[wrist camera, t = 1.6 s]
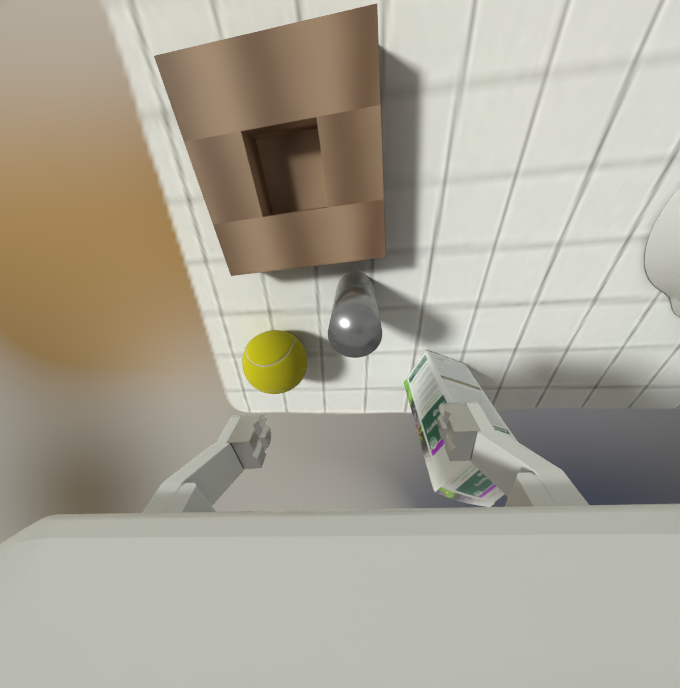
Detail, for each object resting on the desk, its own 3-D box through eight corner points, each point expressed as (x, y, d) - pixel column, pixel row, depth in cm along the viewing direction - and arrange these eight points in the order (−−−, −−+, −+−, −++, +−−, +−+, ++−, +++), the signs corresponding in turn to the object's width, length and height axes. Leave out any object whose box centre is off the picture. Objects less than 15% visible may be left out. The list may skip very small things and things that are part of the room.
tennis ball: (249, 321, 30) (222, 353, 24) (307, 319, 29) (294, 351, 23) (262, 368, 33) (242, 407, 27) (314, 367, 33) (305, 406, 27)
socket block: (373, 40, 18) (377, 3, 14) (381, 248, 25) (385, 257, 21) (190, 80, 19) (153, 55, 16) (247, 265, 26) (231, 275, 23)
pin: (372, 270, 26) (381, 307, 17) (374, 305, 28) (383, 355, 19) (334, 274, 26) (323, 312, 18) (339, 309, 28) (332, 359, 20)
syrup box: (425, 348, 30) (473, 455, 18) (467, 363, 31) (542, 476, 19) (402, 382, 33) (430, 494, 21) (442, 395, 34) (492, 511, 21)
